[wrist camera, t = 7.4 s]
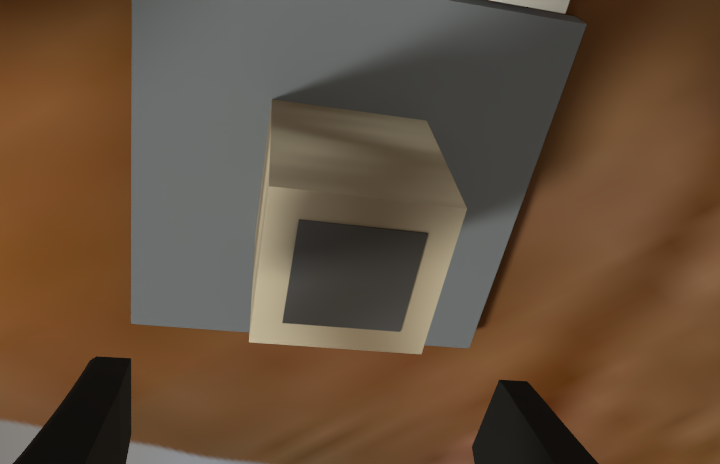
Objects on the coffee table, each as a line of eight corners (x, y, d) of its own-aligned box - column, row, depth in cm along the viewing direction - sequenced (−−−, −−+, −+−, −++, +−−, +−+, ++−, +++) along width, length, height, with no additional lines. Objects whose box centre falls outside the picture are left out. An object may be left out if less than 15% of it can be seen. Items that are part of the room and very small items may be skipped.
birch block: (255, 233, 21) (248, 343, 16) (271, 99, 18) (268, 187, 14) (393, 247, 21) (421, 355, 17) (426, 120, 19) (467, 209, 15)
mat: (135, 308, 23) (131, 323, 22) (138, -61, 17) (132, -55, 16) (463, 333, 25) (468, 348, 24) (575, 16, 19) (586, 24, 18)
